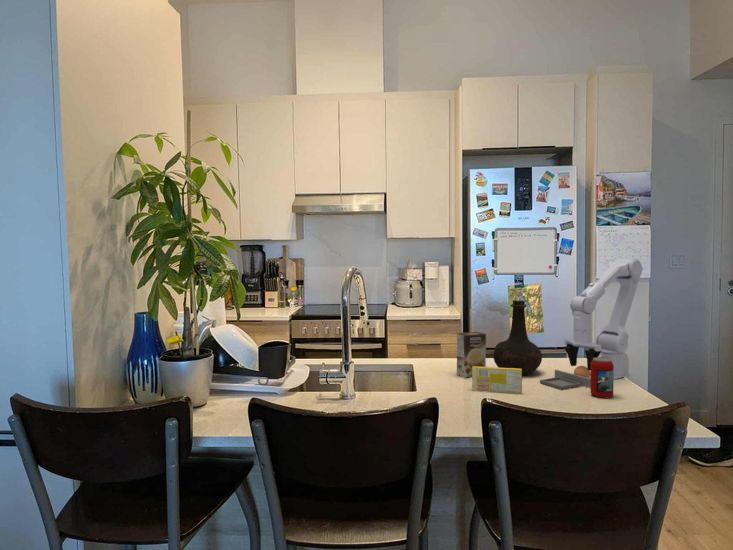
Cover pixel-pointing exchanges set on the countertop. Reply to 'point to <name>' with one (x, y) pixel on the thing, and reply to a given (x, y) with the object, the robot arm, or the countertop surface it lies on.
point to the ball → (582, 371)
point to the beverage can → (602, 377)
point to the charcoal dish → (560, 383)
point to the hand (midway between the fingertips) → (581, 367)
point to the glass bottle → (518, 345)
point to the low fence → (573, 377)
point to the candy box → (497, 379)
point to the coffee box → (470, 352)
